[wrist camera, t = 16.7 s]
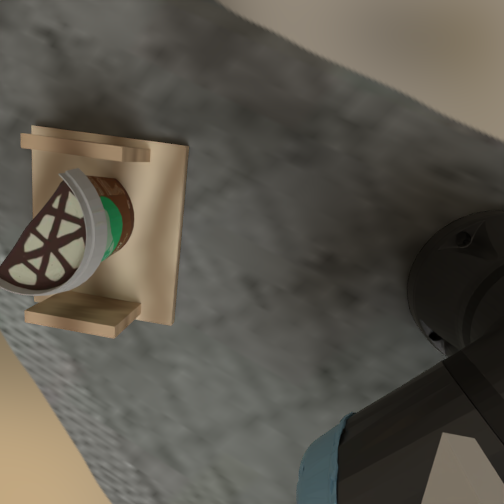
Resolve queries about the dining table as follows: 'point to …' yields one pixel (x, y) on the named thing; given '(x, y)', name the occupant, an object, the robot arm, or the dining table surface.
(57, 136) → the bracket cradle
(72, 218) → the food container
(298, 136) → the dining table surface
